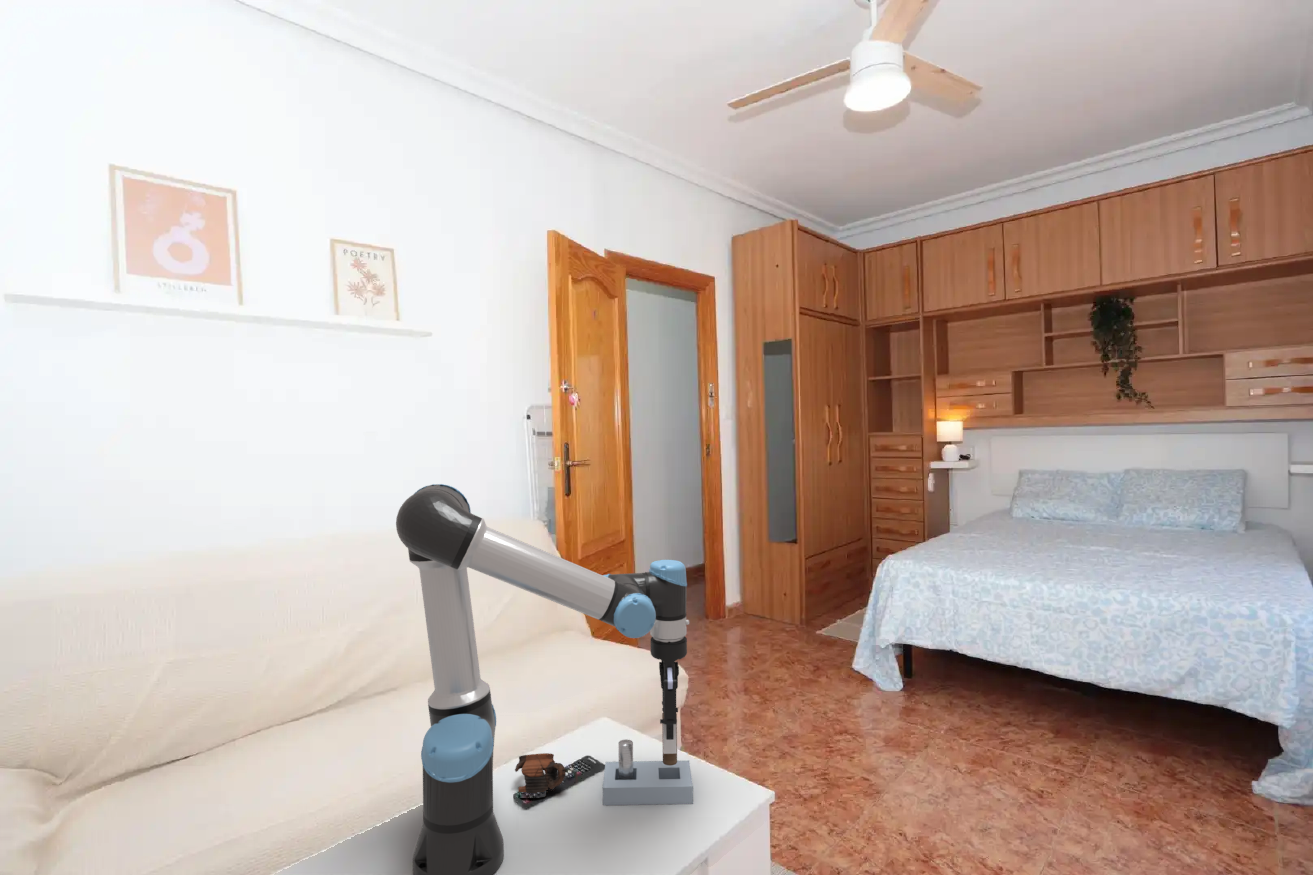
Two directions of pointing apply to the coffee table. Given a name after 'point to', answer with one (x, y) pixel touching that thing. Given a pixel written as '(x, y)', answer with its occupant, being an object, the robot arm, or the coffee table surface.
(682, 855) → the coffee table surface
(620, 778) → the grey steel peg
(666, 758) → the walnut peg
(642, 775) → the socket block
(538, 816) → the coffee table surface
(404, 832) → the coffee table surface
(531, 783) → the pottery mug
